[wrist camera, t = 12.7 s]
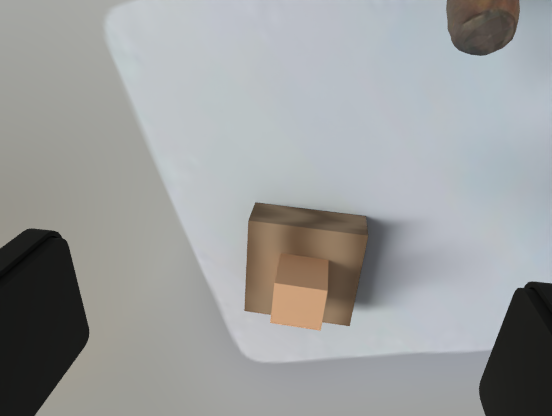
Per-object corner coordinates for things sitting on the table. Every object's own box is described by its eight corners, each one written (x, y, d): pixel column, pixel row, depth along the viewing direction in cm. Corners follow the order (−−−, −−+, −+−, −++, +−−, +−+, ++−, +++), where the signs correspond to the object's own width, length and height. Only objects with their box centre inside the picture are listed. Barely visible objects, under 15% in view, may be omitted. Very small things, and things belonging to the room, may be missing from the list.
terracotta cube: (328, 259, 42) (327, 290, 38) (322, 297, 45) (320, 330, 40) (280, 253, 43) (274, 283, 38) (276, 290, 45) (270, 322, 41)
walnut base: (365, 216, 44) (368, 235, 40) (348, 302, 50) (349, 326, 46) (255, 202, 45) (248, 220, 41) (250, 288, 51) (244, 310, 47)
